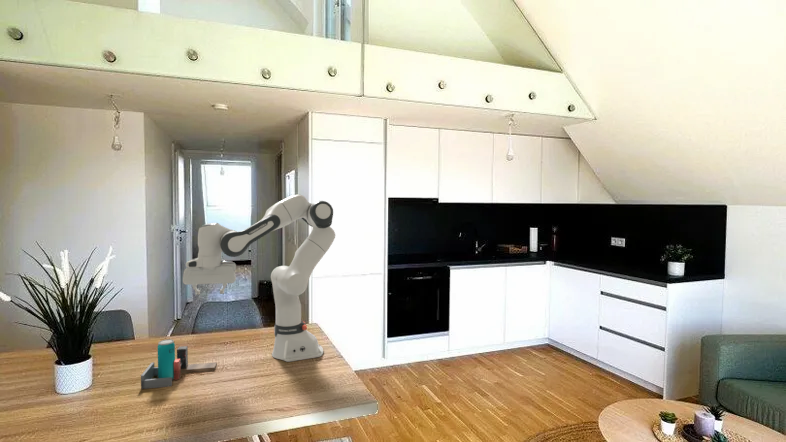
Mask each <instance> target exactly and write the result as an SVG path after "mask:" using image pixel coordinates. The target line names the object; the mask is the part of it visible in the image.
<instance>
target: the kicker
mask: <svg viewBox="0 0 786 442" xmlns="http://www.w3.org/2000/svg"><path fill="white" fill-rule="evenodd" d="M188 349H189V348H188V346H186V345H185V346H178V348H176V358H175V361H174V379H173V381H177V380H180V378H181V375H182V373H181V369H186V368H187V366H188V365H189V360H188V359H189V356H188V352H189V350H188Z"/></svg>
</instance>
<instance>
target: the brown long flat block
mask: <svg viewBox="0 0 786 442" xmlns="http://www.w3.org/2000/svg"><path fill="white" fill-rule="evenodd" d="M217 366H218V363H217V361H216V362H215V361H214V362H206V363H205V362H204V363H193V364H192V363H190V364H189V363H188V366H187V368H186V369H181V374H186V373H198V372H211V371H216V368H217Z"/></svg>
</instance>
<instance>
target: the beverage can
mask: <svg viewBox="0 0 786 442" xmlns="http://www.w3.org/2000/svg"><path fill="white" fill-rule="evenodd" d="M175 347H176V344H175V340H174V339H171V338H169V339H163V340H160V341H158V344H157V367H158V375H157V378H169V377H172V381H174V361H175V359H176V348H175Z"/></svg>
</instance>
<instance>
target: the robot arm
mask: <svg viewBox="0 0 786 442" xmlns="http://www.w3.org/2000/svg"><path fill="white" fill-rule="evenodd" d="M333 218H334V209H333V207H332V205H331V204H330V203H329V202H327V201H325V200H318V201H315V202H314V203H310V202H309V201H308V199H307V198H306V197H305V196H304V195H302V194H294V195H291V196H287V197H286V198H284V199H282V200H280V201H277V202H276V203H274V204H273V205H271V206H269V208H267V209H266V210H265V213H264V215H263V217H262V218H261V219H260V220H259V221H257V222H255V223H254V224H252V225H250V226H249V227H247V228H245V229H243V230H239V231H237V230H233V229H230V228H228V227H225V226H223V225H221V224H220V223H218V222H209V223H205V224H203V225H201V226H199V228H198V231H197V246H198V253H197V257H195V258H193V259H190V260H188V261H186V262H185V267H186V268H185V269H184V270H183V275H182V283H183V284H184V285H186V286H188V285H189V286H190V285H192V286H191V287H192V288H193V290H194V291H195V292H194V293H195V295H196V296H199V295H201V289H198V288H197V286H198V285H210V284H211V285H214V284H216V285H217V284H220V285H221V284H222V286H223V287H222V288H220V289H219V294H220V295H224V294H225V289H226V287H227V285H228V284H234V283H235V282H236V277H237V276H236V270H237V264H236V263H235V262H233V261H231V260H229V261H225V260H223V261H222V253H224V254H225V255H226V256H228V257H231V258H233V257H234V258H235V257H239V256H241V255H244V253H245V252H246V251H247V250H248V248H249V247H250V246H251V245H252V244H253V243H255V242H256V241H258V240H260V239H261V238H263V237H265V236H266V235H268V234H269V233H271V232H274V231H276V230H279V229H282V228H284V227H287V226H289V225H290V224H292V223H294V222H295V221H298V220H299V219H302V221H304V222H305V223H306V224H307V225H308V226H310V227H312V230H311V232H310V234H309V235H308V236H307V237H306V238H305V239H304V240H303V242H302V244H301V245H300V246H299V247H298V248H297V249H296V251H294V257H293V259H292V261H291V262H290V264H289V266H288V265H280V266H276V267H275V268H274V269H273V270H272V271H271V273H270V280H271V284H272V285H271V286H272V292H273V299H274V304H275V323H274V327H273V329H274V331H273V332H274V342H273V343H274V344H273V349H272V353H271V356H272V358H274V359H277V360H282V361H284V362H288V363H289V362H296V361H301V360H308V359H313V358H320V357H322V356H323V355H324V348H323V346H322V345H321V344H319V341H318V338H317V337H316V335H314V334H313V333H311V332H310V331H308V330H307V329H308V326H307V325H306V323H305V321H302V304H301V303H302V302H301V301H300V297H299V296H300V295H302V294H303V293H304V292H305V291H306V290H307V287H308V285H309V283H308V282H309V279H310V277H311V275H312V273H313V272H314V269H315V267H316V266H317V265H318V264H319V262H320V261H321V259H322V258H323V257H324V256H325V254H326V253H327V252H328V251H329V249H330V248H331V246H332V244H333V242H334V241H335V238H336V233H335V230H334V229H333V228H332V227H331V226H332V224H333Z"/></svg>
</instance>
